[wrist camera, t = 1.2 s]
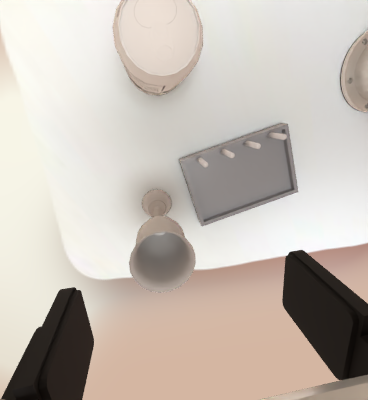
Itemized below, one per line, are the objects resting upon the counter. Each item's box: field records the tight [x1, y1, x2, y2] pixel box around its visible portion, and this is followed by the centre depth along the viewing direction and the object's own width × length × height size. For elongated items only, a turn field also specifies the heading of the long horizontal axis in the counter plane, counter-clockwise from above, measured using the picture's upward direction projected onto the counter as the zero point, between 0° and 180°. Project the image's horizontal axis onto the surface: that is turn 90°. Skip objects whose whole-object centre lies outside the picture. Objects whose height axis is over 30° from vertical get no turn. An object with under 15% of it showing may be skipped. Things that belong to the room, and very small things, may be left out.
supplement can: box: [113, 0, 203, 96], centre depth 28 cm, size 8×8×15 cm
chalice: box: [129, 189, 195, 293], centre depth 33 cm, size 7×7×18 cm
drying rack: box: [179, 123, 298, 226], centre depth 39 cm, size 18×12×6 cm, turn 108°
